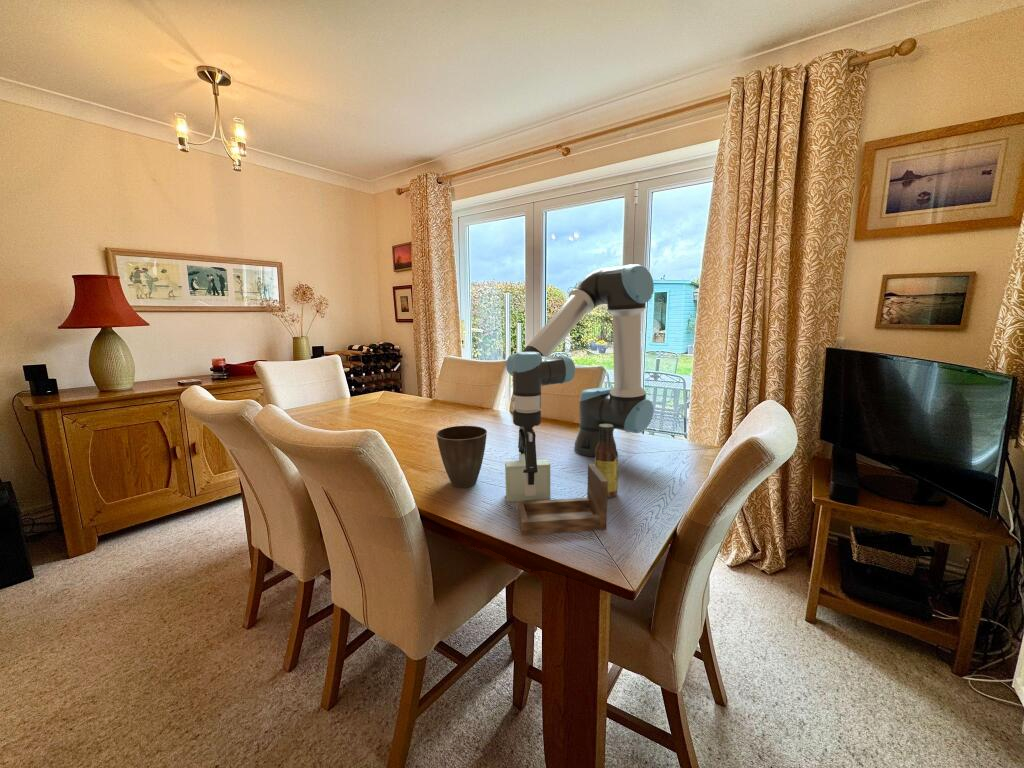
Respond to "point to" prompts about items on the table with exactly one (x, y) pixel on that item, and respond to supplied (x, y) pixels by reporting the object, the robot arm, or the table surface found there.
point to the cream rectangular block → (517, 480)
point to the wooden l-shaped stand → (567, 510)
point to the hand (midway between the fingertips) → (526, 484)
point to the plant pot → (462, 453)
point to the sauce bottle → (607, 458)
